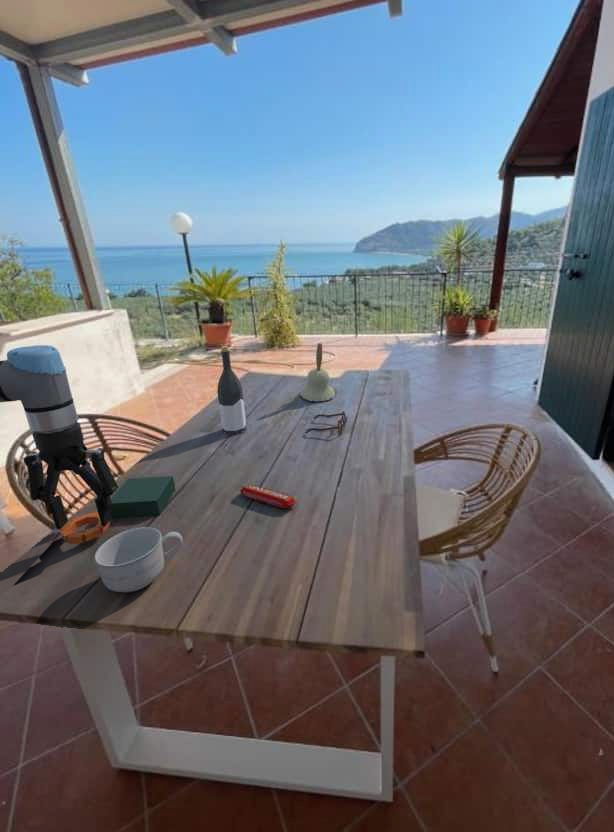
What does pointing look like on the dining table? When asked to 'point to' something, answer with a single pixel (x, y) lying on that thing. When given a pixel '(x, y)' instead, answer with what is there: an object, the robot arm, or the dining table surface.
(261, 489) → the candy bar
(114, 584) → the teacup
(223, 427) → the wine bottle
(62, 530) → the ring
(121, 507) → the block
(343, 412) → the glasses
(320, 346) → the handbell
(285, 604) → the dining table surface
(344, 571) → the dining table surface
